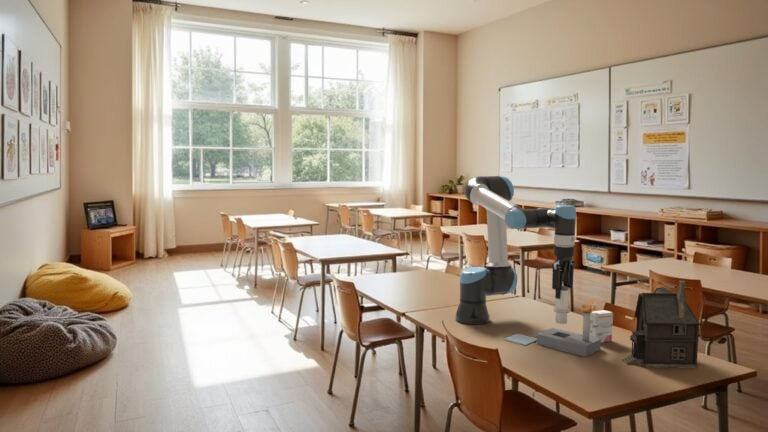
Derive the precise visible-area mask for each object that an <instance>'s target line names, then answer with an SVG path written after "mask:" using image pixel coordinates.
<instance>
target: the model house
mask: <svg viewBox="0 0 768 432" xmlns="http://www.w3.org/2000/svg"><path fill="white" fill-rule="evenodd" d="M678 283H679V284H678V289H677V292H675V291H672V290H671V289H668V288H667V287H663V286H661V287H656V288H655V290H654V291H653V292H641V293H639V292H638V296H637V302H636V306H635V311H634V316H633V317H634V318H636V321H635V322H636V328H635V329H636V330H635V331H631V333H632V334H631V335H630V336H629V340H630V341H631V354H629V356H628V355H627V356H626V357H624V358H622V359H621V360H622V361H623V363H624V364H626V365H634V366H643V367H644V368H673V369H675V368H683V369H685V368H687V369H689V368H690V369H691V368H692V369H698V366H699V365H698V353H699V352H698V350H699V342H700V340H699V333H700V331H699V330H700V325H701V324H702V323H700V322H699V320H698V319H697V317H696V315H695V314H694V312H693V311H692V309H691V307H690V306H689V305H688V303H687V294H686V291H685V283H686V281H685V280H678Z"/></svg>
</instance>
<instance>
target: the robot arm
mask: <svg viewBox="0 0 768 432" xmlns="http://www.w3.org/2000/svg"><path fill="white" fill-rule="evenodd" d="M463 192H464V196H465V198H466V199H467V200H468V201H469V202H470V203H472V204H473V205H476V206H481V207H483V208H484V209H485V210H486V222H487V223H486V224H487V225H486V227H487V252H488V253H487V254H488V262H487V263H486V264H485V267H482V266H472V267H466V268H464V269H463V270H461V272H460V274H459V275H460V276H459V305H458V307H457V309H456V313H455V321H457V322H458V323H463V324H465V325H466V324H467V325H483V324H487V323H489V322H490V320H491V319H490V317H491V316H490V314H489V309H488V306H487V297H489V296H498V295H502V296H504V295H508V294H511V293H514V291H515V289H516V288H517V285H518V274H517V272H516V270H515V269H514V268H512V267H513V266H512V264H511V263H510V262H509V258H508V257H509V256H508V254H509V253H508V237H507V236H508V235H507V234H508V233H507V228H508V229H511V230H521V229H522V230H524V229H540V228H541V229H543V228H547V229H549V228H550V229H554V237H553V239H554V240H553V244H554V247H553V255H554V256H555V257H556V260H555V263H552V264H551V268H552V281H551V288H552V290H554V291H555V292H554V293H555V294H554V298H555V299H554V307H556V306H557V307H562V304H563V290H562V286H567V287H569V288H568V306H569V305H570V289H572V288H573V285H574V274H575V273H574V272H575V269H574V268H575V263H576V261H575V260H574V259H572V257H574V256H575V249H576V248H575V247H574V246H575V245H576V244H575V242H576V227H577V226H576V222H577V221H576V220H577V209H576V206H575V205H569V204H558V205H556V206H555V208H549V207H538V208H522V207H521V206H520V205H517V204H515V203H513V202H512V200H513V197H514V196H515V195H514V193H515V189H514V186H513V183H512V181H511V180H510V179H509V178H508V177H506V176H500V175H495V176H493V175H490V176H488V175H487V176H485V175H484V176H478V175H477V176H475V177H472V178H470V179H469V180H468V181H467V182H466V184H465V185H464V190H463Z"/></svg>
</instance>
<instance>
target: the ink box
mask: <svg viewBox="0 0 768 432" xmlns="http://www.w3.org/2000/svg"><path fill="white" fill-rule="evenodd" d="M613 321H614V313H613V312H612V311H609V310H605V309H603V310H596V311H593V310H592V313H590V334H589V336H590V337H594V338H598V339H601V343H608V342H612V340H613V325H614V324H613Z"/></svg>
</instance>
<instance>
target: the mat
mask: <svg viewBox="0 0 768 432" xmlns="http://www.w3.org/2000/svg"><path fill="white" fill-rule="evenodd" d="M503 341H506V342H507V341H508V342H510V343H515V344H518V345H522V346H528V345H531V344H532V343H536V342H537V337H536V338H535V337H532V336H528V335H524V334H520V333H516V334H513V335H509V336H507V337H504V338H503Z"/></svg>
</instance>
